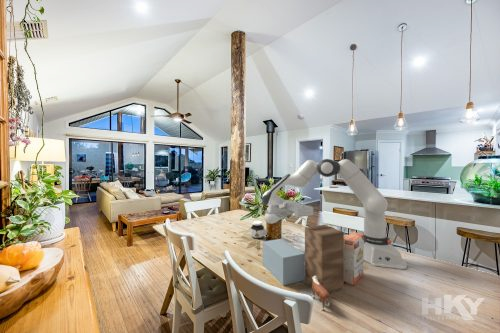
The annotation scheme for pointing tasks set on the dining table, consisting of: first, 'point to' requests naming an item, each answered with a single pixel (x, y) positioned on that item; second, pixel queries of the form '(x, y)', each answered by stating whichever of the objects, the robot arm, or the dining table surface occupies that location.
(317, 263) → the stand
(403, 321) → the dining table surface
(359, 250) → the cracker box
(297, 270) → the gray rectangular box
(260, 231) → the spread jar
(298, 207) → the light gray box
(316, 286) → the bull figurine
